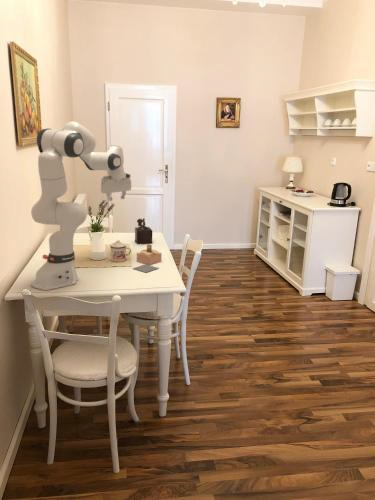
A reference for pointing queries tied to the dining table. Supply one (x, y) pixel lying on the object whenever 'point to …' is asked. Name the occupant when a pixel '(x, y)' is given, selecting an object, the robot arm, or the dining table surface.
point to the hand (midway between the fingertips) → (116, 199)
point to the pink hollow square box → (149, 258)
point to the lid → (149, 251)
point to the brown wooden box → (143, 233)
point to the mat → (145, 268)
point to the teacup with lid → (119, 251)
